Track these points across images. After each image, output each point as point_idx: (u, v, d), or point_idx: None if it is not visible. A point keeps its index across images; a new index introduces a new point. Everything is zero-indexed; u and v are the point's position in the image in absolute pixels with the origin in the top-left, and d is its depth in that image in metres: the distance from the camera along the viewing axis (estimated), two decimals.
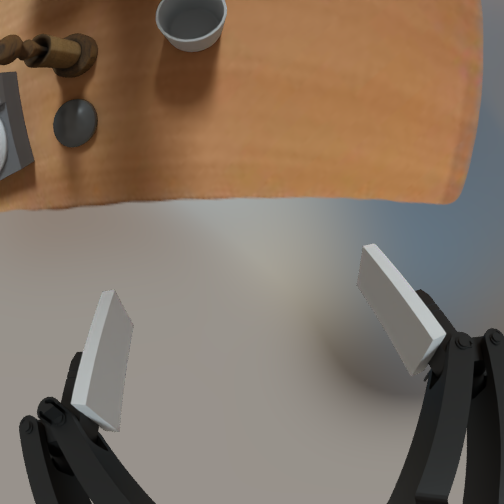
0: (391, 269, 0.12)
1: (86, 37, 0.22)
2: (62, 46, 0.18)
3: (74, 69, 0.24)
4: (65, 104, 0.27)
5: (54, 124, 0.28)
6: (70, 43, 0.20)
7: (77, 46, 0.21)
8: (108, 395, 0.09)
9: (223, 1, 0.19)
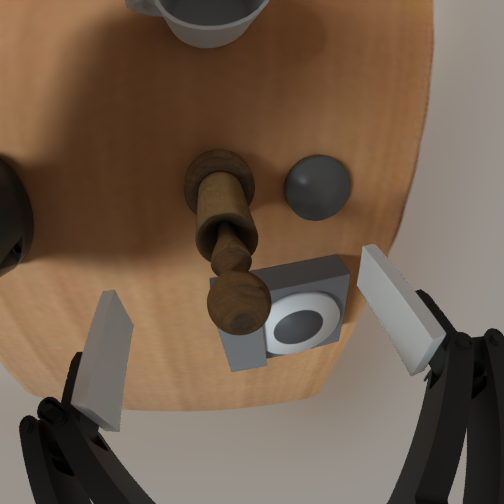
0: (391, 269, 0.12)
1: (196, 165, 0.23)
2: (223, 195, 0.19)
3: (248, 182, 0.24)
4: (290, 199, 0.28)
5: (310, 219, 0.29)
6: (211, 185, 0.21)
7: (212, 176, 0.22)
8: (108, 395, 0.09)
9: None
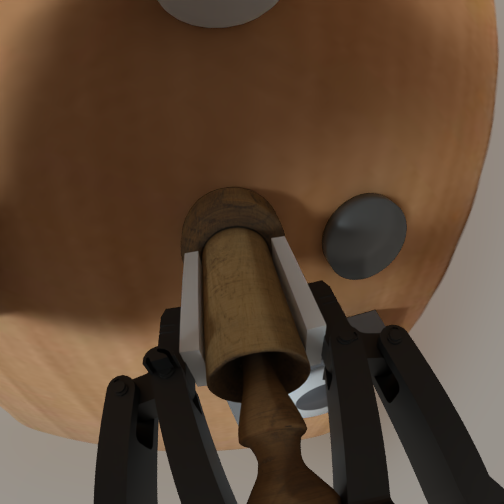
0: (290, 260, 0.13)
1: (199, 217, 0.15)
2: (248, 293, 0.11)
3: None
4: (331, 256, 0.20)
5: (353, 278, 0.21)
6: (225, 263, 0.13)
7: (225, 239, 0.14)
8: None
9: None
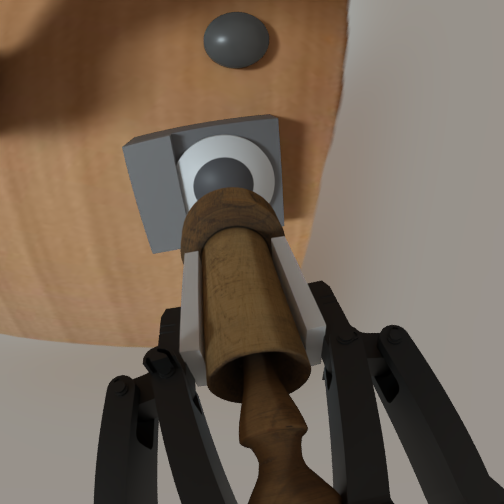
0: (290, 260, 0.13)
1: (198, 217, 0.15)
2: (248, 293, 0.11)
3: None
4: (207, 46, 0.23)
5: (229, 65, 0.25)
6: (225, 262, 0.13)
7: (225, 238, 0.14)
8: None
9: None
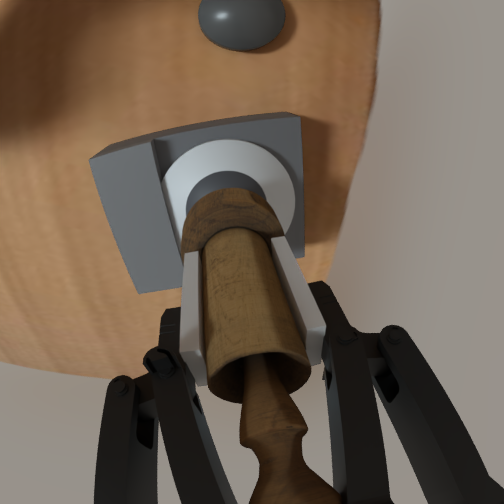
0: (289, 260, 0.13)
1: (198, 217, 0.15)
2: (249, 294, 0.11)
3: None
4: (202, 22, 0.16)
5: (233, 46, 0.17)
6: (225, 263, 0.13)
7: (225, 239, 0.14)
8: None
9: None
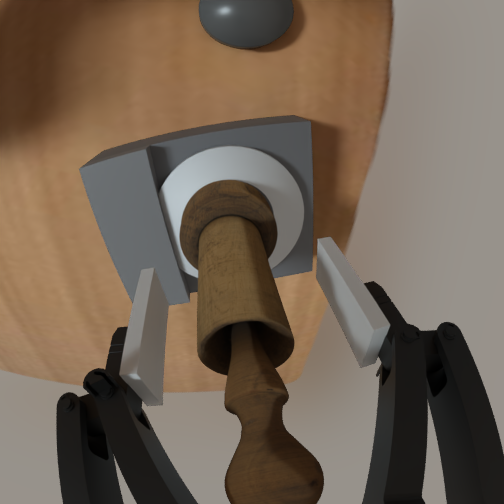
0: (342, 261, 0.13)
1: (196, 205, 0.16)
2: (238, 271, 0.12)
3: (270, 229, 0.18)
4: (203, 17, 0.14)
5: (237, 43, 0.16)
6: (219, 245, 0.14)
7: (220, 225, 0.16)
8: (153, 367, 0.11)
9: None
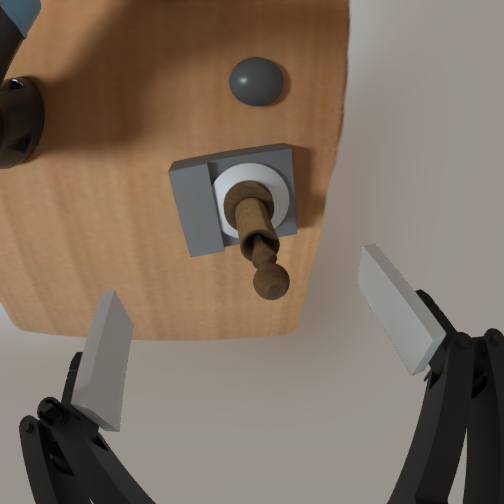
0: (391, 269, 0.12)
1: (234, 192, 0.34)
2: (256, 216, 0.29)
3: (270, 204, 0.35)
4: (233, 88, 0.32)
5: (251, 104, 0.33)
6: (247, 209, 0.31)
7: (246, 201, 0.33)
8: (108, 395, 0.09)
9: None
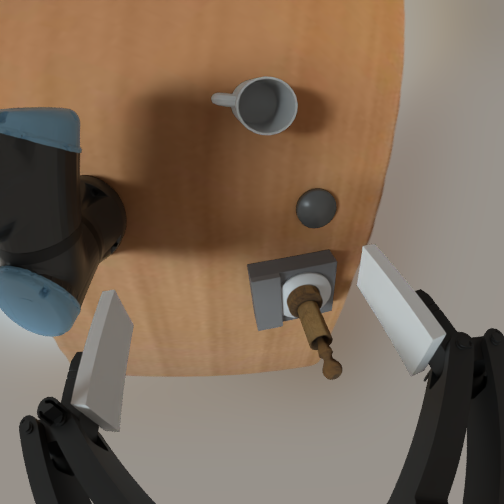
0: (391, 269, 0.12)
1: (298, 297, 0.48)
2: (318, 322, 0.44)
3: (321, 302, 0.49)
4: (299, 215, 0.46)
5: (311, 227, 0.48)
6: (310, 313, 0.46)
7: (307, 304, 0.48)
8: (108, 395, 0.09)
9: (257, 79, 0.27)
